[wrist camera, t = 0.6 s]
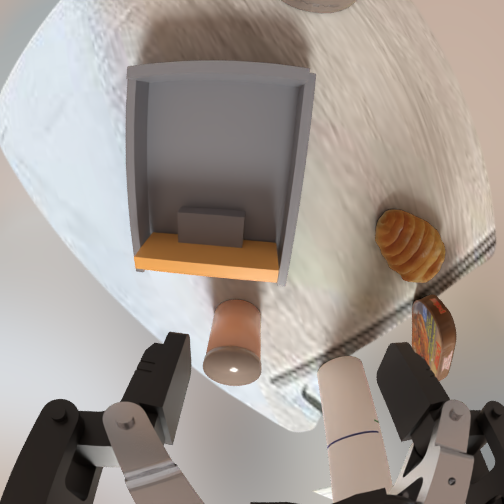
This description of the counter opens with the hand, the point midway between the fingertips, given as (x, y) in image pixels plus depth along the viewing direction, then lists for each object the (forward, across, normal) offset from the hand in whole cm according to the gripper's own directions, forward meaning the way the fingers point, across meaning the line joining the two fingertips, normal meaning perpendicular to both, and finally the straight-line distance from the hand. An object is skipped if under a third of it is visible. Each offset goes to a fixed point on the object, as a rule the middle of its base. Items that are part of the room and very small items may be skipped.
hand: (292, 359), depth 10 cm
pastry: (+19, -15, 0) cm, 24 cm away
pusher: (+18, +6, 0) cm, 18 cm away
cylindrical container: (+22, -13, +22) cm, 33 cm away
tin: (+20, -23, +12) cm, 33 cm away
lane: (+17, +6, -6) cm, 19 cm away
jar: (+20, +3, +12) cm, 23 cm away
